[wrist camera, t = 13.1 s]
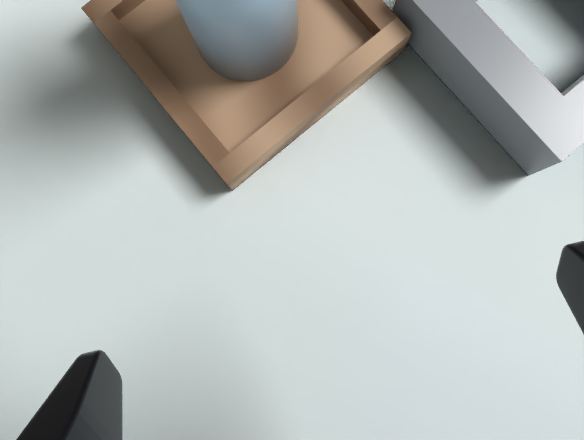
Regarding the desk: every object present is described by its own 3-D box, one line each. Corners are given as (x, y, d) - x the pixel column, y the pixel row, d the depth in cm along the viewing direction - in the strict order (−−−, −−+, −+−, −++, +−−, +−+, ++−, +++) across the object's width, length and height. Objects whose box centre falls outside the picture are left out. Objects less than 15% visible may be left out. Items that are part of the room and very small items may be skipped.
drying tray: (232, 190, 23) (226, 183, 22) (97, 27, 24) (81, 7, 23) (403, 50, 24) (411, 32, 22) (264, -104, 25) (260, -132, 23)
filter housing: (528, 175, 23) (561, 161, 20) (388, 22, 24) (400, -13, 21) (683, 44, 24) (738, 11, 21) (540, -101, 25) (572, -152, 22)
